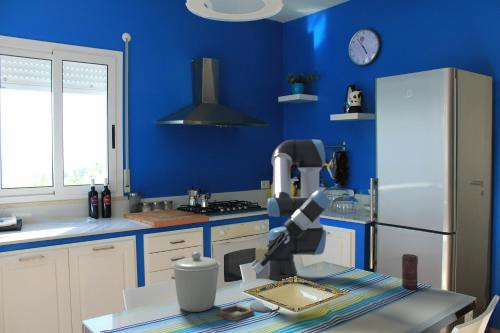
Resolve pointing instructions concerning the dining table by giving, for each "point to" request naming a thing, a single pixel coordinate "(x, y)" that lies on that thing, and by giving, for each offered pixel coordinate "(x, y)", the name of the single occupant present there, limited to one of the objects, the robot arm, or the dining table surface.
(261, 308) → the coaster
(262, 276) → the yellow and grey cylinder
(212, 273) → the canister
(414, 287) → the can
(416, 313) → the dining table surface
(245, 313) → the socket frame
